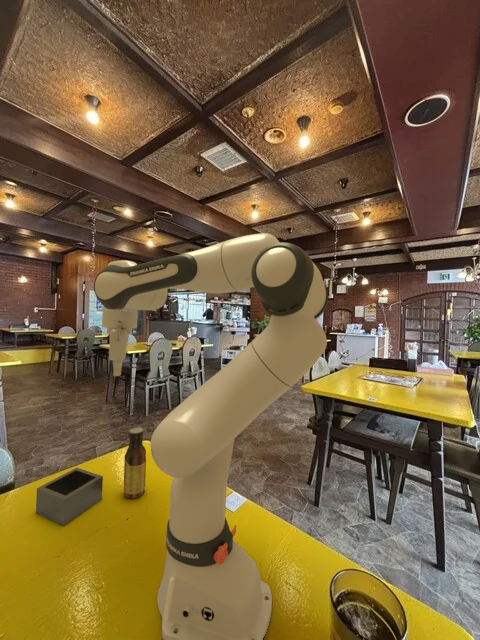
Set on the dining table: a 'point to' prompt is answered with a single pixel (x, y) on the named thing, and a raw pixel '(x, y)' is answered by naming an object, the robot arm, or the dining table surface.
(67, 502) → the condiment sleeve
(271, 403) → the robot arm
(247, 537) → the dining table surface
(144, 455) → the sauce bottle
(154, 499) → the dining table surface
